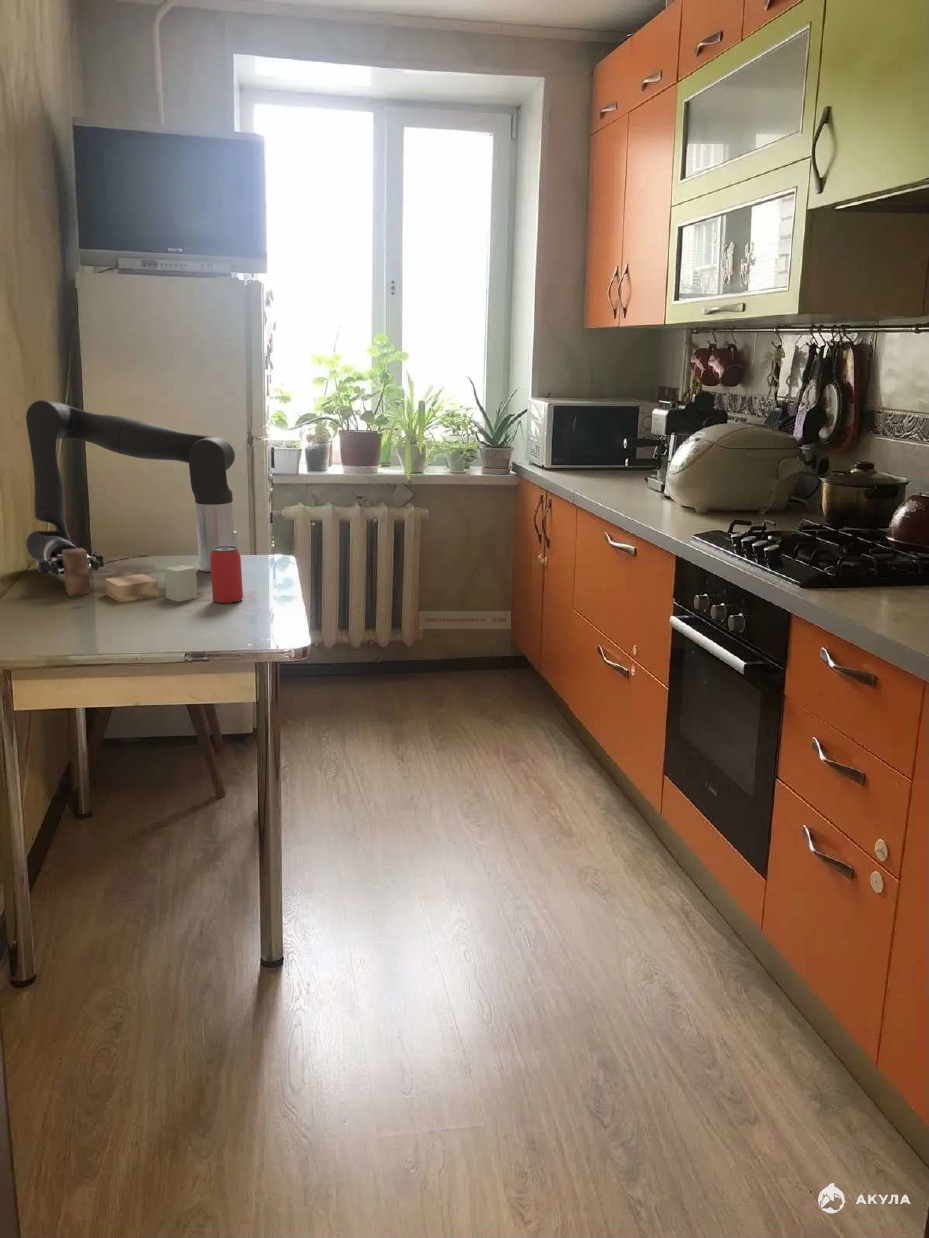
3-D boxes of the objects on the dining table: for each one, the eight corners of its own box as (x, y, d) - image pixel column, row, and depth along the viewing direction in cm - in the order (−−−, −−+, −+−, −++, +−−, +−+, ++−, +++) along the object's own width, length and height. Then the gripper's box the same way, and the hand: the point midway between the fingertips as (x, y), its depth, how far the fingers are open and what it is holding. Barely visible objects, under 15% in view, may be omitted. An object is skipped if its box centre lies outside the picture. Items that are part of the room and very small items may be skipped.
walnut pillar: (86, 589, 235) (82, 547, 232) (90, 593, 231) (86, 551, 229) (66, 592, 233) (61, 549, 230) (70, 596, 229) (65, 553, 226)
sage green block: (185, 594, 231) (183, 564, 229) (197, 597, 228) (195, 567, 226) (166, 598, 228) (164, 567, 226) (178, 601, 224) (176, 571, 223)
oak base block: (144, 590, 236) (143, 573, 235) (159, 597, 229) (157, 580, 228) (106, 595, 231) (104, 578, 230) (119, 603, 224) (118, 586, 223)
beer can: (246, 597, 228) (244, 545, 225) (237, 604, 222) (234, 551, 219) (218, 596, 229) (215, 545, 226) (208, 603, 223) (205, 550, 219)
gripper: (29, 543, 238) (41, 555, 225) (91, 537, 245) (107, 548, 232) (32, 574, 240) (45, 587, 227) (94, 567, 247) (110, 580, 234)
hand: (76, 568), depth 229 cm, fingers open, 8 cm apart
